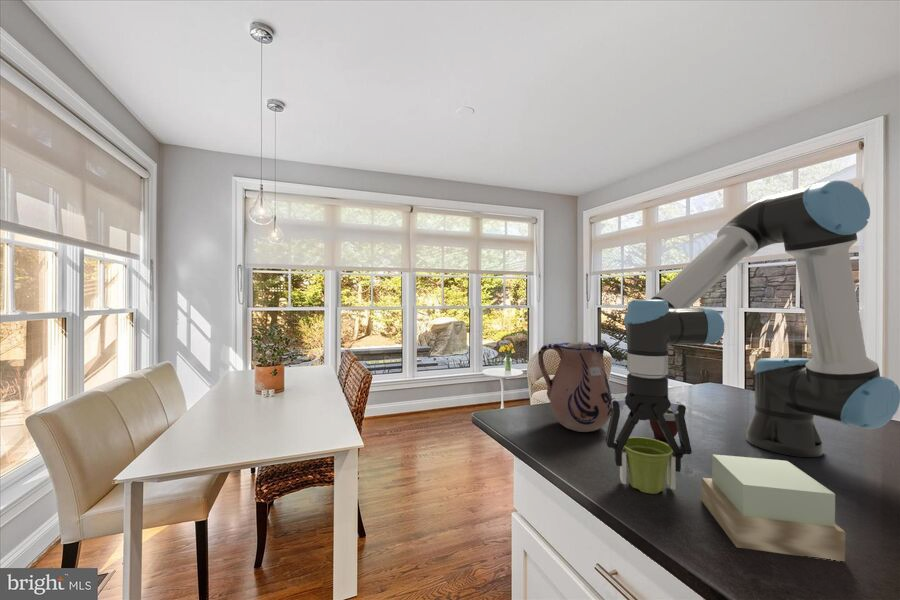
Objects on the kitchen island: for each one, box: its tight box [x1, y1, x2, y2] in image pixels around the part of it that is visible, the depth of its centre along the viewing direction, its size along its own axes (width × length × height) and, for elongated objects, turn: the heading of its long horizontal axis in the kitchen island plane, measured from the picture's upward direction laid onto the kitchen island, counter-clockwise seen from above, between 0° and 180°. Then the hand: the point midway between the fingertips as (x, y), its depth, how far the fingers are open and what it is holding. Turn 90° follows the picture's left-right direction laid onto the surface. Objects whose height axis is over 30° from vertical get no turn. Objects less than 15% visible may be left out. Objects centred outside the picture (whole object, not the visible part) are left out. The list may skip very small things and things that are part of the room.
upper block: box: [711, 453, 836, 527], centre depth 65 cm, size 12×12×5 cm
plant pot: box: [624, 436, 673, 495], centre depth 79 cm, size 9×9×9 cm
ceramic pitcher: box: [537, 341, 613, 433], centre depth 115 cm, size 18×21×25 cm
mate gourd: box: [649, 409, 678, 444], centre depth 105 cm, size 8×8×15 cm
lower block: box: [701, 477, 846, 563], centre depth 65 cm, size 14×14×5 cm
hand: (646, 483), depth 79 cm, fingers closed on plant pot, 8 cm apart
